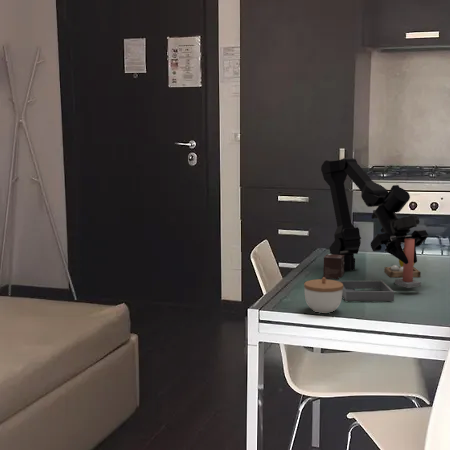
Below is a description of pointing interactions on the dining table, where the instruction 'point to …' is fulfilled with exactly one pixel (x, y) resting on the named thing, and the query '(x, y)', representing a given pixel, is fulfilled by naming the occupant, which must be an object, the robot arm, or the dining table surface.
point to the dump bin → (367, 291)
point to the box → (333, 266)
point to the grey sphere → (394, 268)
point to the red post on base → (408, 265)
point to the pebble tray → (399, 274)
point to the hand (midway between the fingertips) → (411, 262)
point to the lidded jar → (323, 294)
